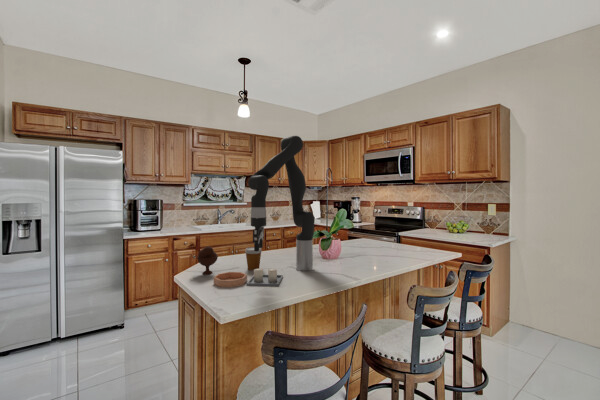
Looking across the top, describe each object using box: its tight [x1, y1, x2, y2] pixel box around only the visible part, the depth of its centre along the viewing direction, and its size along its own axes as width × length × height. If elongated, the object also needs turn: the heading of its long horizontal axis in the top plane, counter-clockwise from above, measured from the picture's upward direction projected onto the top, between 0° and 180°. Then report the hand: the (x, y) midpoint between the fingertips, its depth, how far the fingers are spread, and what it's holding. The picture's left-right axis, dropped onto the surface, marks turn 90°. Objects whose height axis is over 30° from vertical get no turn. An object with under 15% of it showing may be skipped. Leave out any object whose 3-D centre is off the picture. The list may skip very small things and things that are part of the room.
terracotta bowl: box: [213, 271, 248, 288], centre depth 144 cm, size 15×15×4 cm
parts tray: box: [245, 274, 284, 287], centre depth 146 cm, size 15×15×2 cm
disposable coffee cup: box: [244, 246, 263, 271], centre depth 169 cm, size 10×10×12 cm
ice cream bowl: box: [196, 245, 219, 276], centre depth 161 cm, size 11×11×15 cm
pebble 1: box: [253, 268, 264, 282], centre depth 146 cm, size 4×4×6 cm
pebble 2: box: [267, 268, 278, 283], centre depth 145 cm, size 4×4×6 cm
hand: (258, 249), depth 145 cm, fingers open, 8 cm apart
